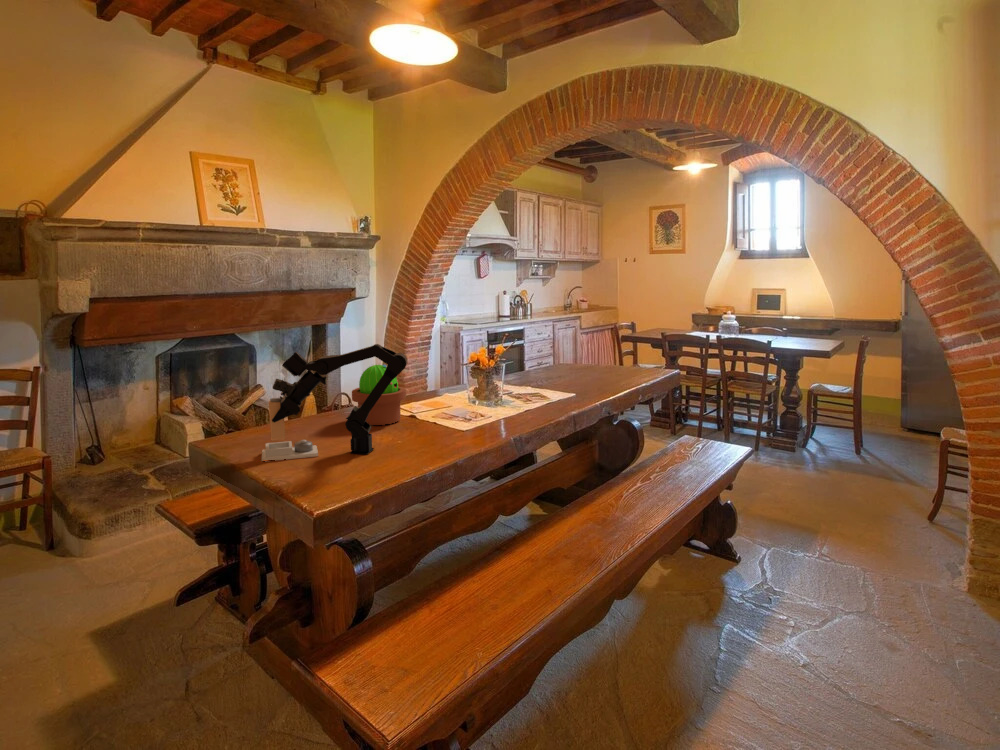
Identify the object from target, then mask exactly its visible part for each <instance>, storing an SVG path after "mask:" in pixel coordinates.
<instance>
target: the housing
mask: <svg viewBox="0 0 1000 750" xmlns="http://www.w3.org/2000/svg"><path fill="white" fill-rule="evenodd" d="M261 450H262V451H261V462H262V461H263V460H275V461H284V459H286V460H295V459H304V458H305V459H306V458H314V457H319V451H318V447H317V444H316V445H315V444H314V445H313V442H312V441H311V440H307V439H301V440H299V441H296V442H294V446H293V442H292V440H288V441H279V442H278V441H277V442H275V441H274V442H266V443H265V448H264V449H261Z"/></svg>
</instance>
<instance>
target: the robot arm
mask: <svg viewBox="0 0 1000 750" xmlns="http://www.w3.org/2000/svg"><path fill="white" fill-rule="evenodd" d="M371 358H372V359H373V358H377V359H379V360H380V361H381V362H383V364H385V365H387V368H386V370H385V372H384V374H383V376H382V377H381V379H380V380H379V382H378V383H377V384H376V386H375V387H374V389H373V390H372V391H371V393H370V394H369V396H368V397H367V398H366V400H365V401H364V403H363V404H362V405H361V406H360V407H359V408H358V406H357V405H354V407H353V408H352V410H351V412H350V413H348V414H347V417H346V418H345V420H346V422H345V428H346V430H348V432H349V433H350V434H351V438H350V454H351V455H353V454H354V455H368V453H369V454H370V453H371V452H373V451H372V450H373V449H374V450H375V448H374V447H373V437H372V436H373V434H372V433H370V432H371V431H372V430H371V429H372V425H370V424H369V423H367V422H366V419H367V417H368V415H369V413H370V411H371V409H372V408H373V406H374V405H375V404H376V402H377V401H378V399H379V398H380V397H381V395H382V394H383V392H384V391H385V390H386V388H387V387H388V385H389V384H390V382H391V381H392V380H393V379H394V378H395V377H396V378H397V377H398V376H399V375H400V373H402V372H403V371H404V369H406V367H407V364H408V363H409V362H408V358H407V355H405V354H404V353H403V352H396V351H394V350H391V349H389V348H387V347H384V346H383V345H381V344H379V343H375V344H373V345H371V346H367V347H364V348H360V349H356V350H353V351H350V352H347V353H342V354H332V355H325V356H321V357H319V358H318V359H316V360H311V361H308V360H307V359H305V357H303V356H302V355H301V353H299V352H298V351H295V352H294V353H293V354H292V355H291V356H290V357H289V358H287V359H286V360H285V361H284V362H283V363H282V365H281V366H282V368H284V369H285V370H286V371H287V372H288V373H290V374H291V375H292V376H293V377H300V378H299V379H298V381H294V382H293V383H290V382H287V380H283V379H279V378H275V380H274V382H273V385H272V389H273V390H274V391H279V392H280V396H279V398H281V400H282V399H283V400H282V401H280V409H279V410H278V412H277V413H276V415H275V416H274V418H273V419H272V422H274V423H275V422H277V421H279V420H281V419H283V418H284V419H285V418H288V417H290V416H293V415H295V416H298V414H299V413H300V412H301V405H302V402H303V401H304V400H305V399H306V398H307V397H310V396H311V393H312V392H313V391H314V389H315V388H317V386H319V384H320V383H322V384H323V385H327V376H325V375H328V374H330V373H332V372H334V371H336V370H337V369H340V368H342V367H344V366H346V365H350V364H354V363H358V362H361V361H365V360H369V359H371ZM301 376H302V377H301Z"/></svg>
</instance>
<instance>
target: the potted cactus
mask: <svg viewBox="0 0 1000 750" xmlns="http://www.w3.org/2000/svg"><path fill="white" fill-rule="evenodd" d="M387 365H388V364H386V363H383V364H374V363H373V364H372V365H371V366H370V365H369V366H368V367H367V368H366V369H365V370H363V371H362V373H360V374H361V376H360V377H359V381H358V383H359V384H358V386H359V387H356V388H354V389H352V391H351V400H352V401H353V402H356V403H357V408H359V407H360V406H361V405H362V404H363V403H364V401H365V400H366V398H367V397H368V396H369V394H370V393H371V391H372V390H373V389H374V387H375V386H376V384H377V383H378V382H379V380H380V379H381V377H382V376H383V374H384V372H385V370H386V368H387ZM406 397H407V396H406V388H405V387H403V386H399V380H398V379H397V376H396V377H395V378H394V379H393V380H392V381H391V382H390V384H389V385H388V387H387V388H386V390H385V391H384V392H383V394H382V395H381V397H380V398H379V399H378V401H377V402H376V404H375V405H374V406H373V408H372V409H371V411H370V413H369V415H368V417H367V419H366V422H367V423H369V424H370V425H371V426H373V425H382V426H386V425H385V424H390V425H392V424H391V423H394V424H396V423H395V422H397V421H398V422H400V421H401V418H402V417H401V401H404V400H405V399H406ZM399 420H400V421H399ZM398 422H397V423H398Z"/></svg>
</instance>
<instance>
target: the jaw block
mask: <svg viewBox="0 0 1000 750" xmlns="http://www.w3.org/2000/svg"><path fill="white" fill-rule="evenodd" d="M282 400H283V399H282ZM282 400H281V398H280V397H273V398H270V399H269V400H268V411H269V413H268V414H269V425H270V440H271V441H272V442H273V441H274V442H275V441H284V440H286V426H285V418H283V419H281V420H279V421H277V422H275V423H274V422H272V419H273V418H274V416H275V415H276V413H277V412H278V410H279V409H280V401H282Z"/></svg>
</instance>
